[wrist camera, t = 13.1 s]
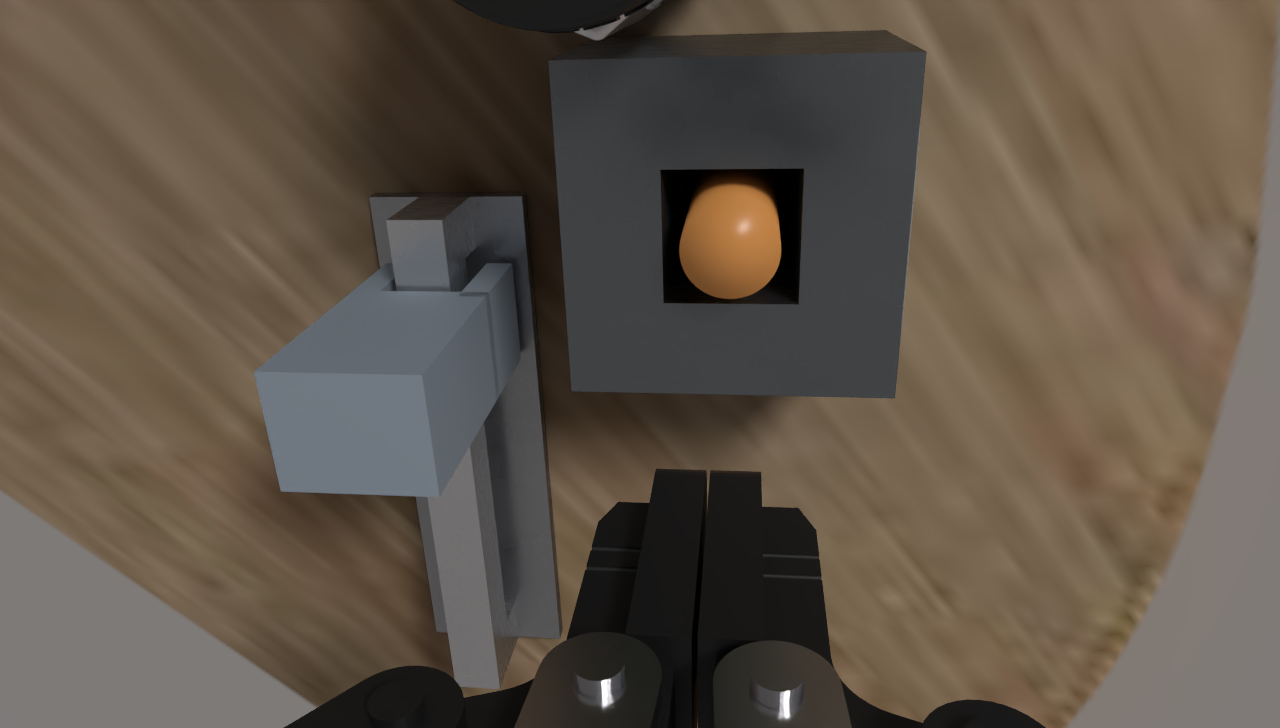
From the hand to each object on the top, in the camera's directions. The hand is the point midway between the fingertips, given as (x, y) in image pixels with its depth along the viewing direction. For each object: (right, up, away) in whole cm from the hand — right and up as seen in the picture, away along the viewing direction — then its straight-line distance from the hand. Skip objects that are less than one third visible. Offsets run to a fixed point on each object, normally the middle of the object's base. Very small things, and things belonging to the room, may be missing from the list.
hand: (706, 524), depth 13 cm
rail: (-8, -1, +26) cm, 27 cm away
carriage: (-8, +5, +24) cm, 25 cm away
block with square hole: (+3, +9, +20) cm, 22 cm away
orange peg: (+2, +9, +20) cm, 22 cm away
